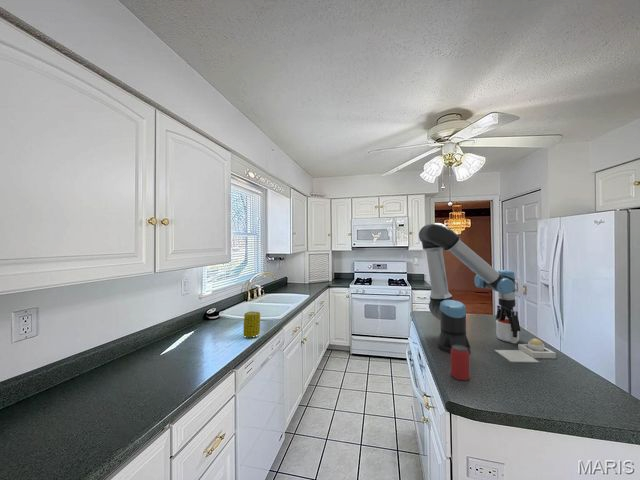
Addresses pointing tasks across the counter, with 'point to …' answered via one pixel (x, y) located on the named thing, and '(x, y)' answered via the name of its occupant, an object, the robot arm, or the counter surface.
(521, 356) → the pad
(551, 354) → the dome base
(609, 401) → the counter surface
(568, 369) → the counter surface
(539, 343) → the dome
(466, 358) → the beer can
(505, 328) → the cup
